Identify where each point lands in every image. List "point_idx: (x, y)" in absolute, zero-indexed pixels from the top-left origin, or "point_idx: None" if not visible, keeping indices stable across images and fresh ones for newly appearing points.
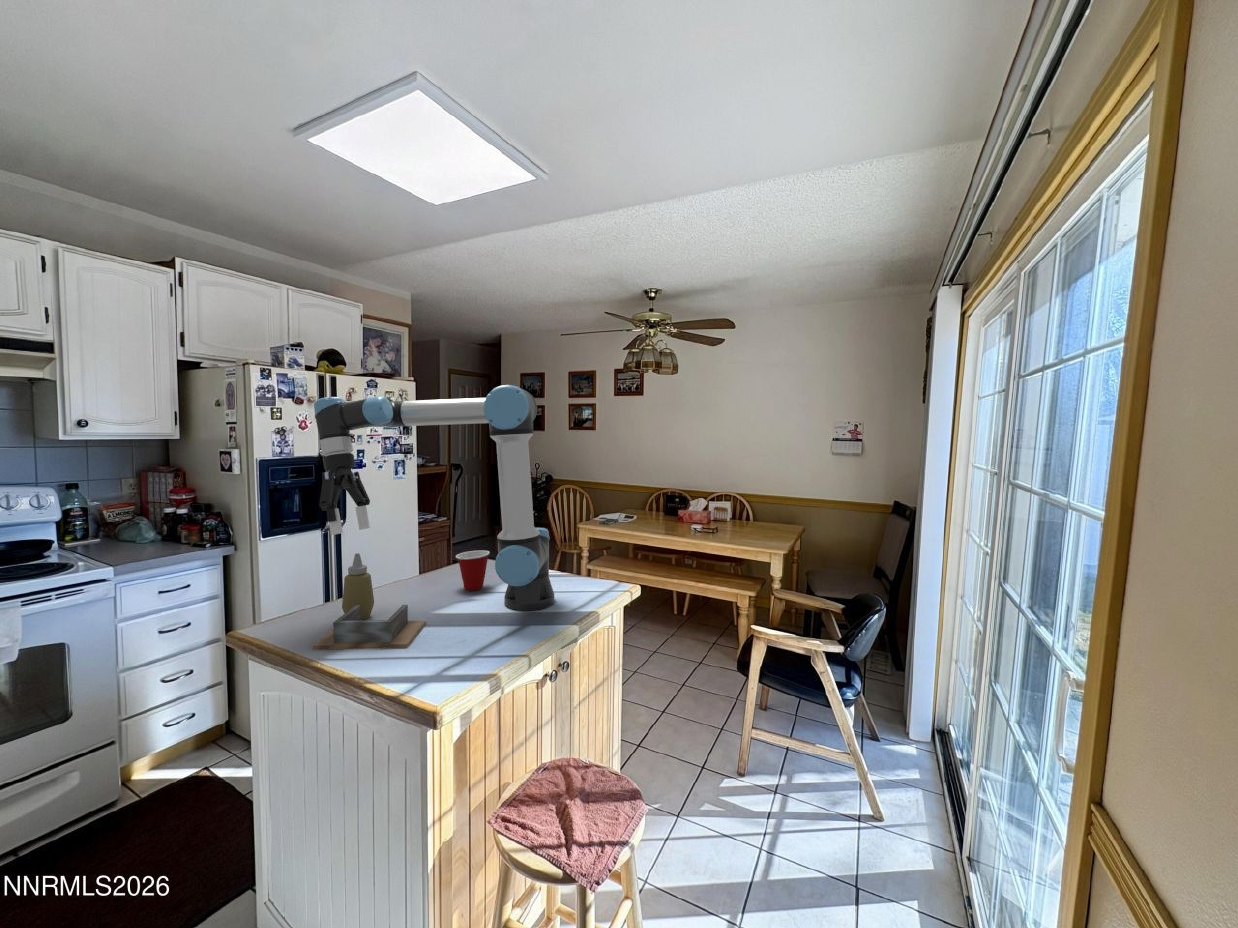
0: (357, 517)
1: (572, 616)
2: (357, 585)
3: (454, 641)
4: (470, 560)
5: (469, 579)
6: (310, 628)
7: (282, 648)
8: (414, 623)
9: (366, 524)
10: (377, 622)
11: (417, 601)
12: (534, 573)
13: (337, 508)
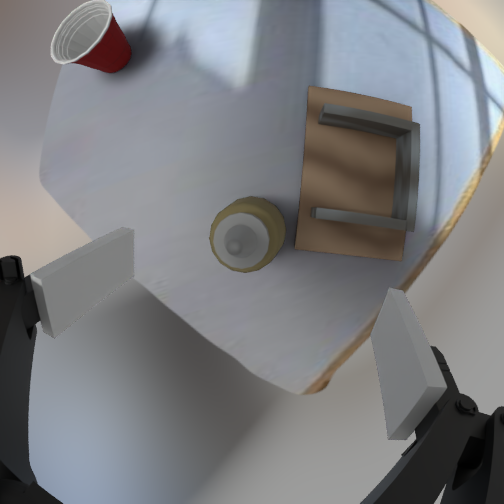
0: (94, 304)
1: None
2: (279, 226)
3: (384, 46)
4: (110, 22)
5: (123, 47)
6: (301, 301)
7: None
8: (322, 103)
9: (121, 243)
10: (419, 146)
11: (169, 135)
12: None
13: (440, 385)
